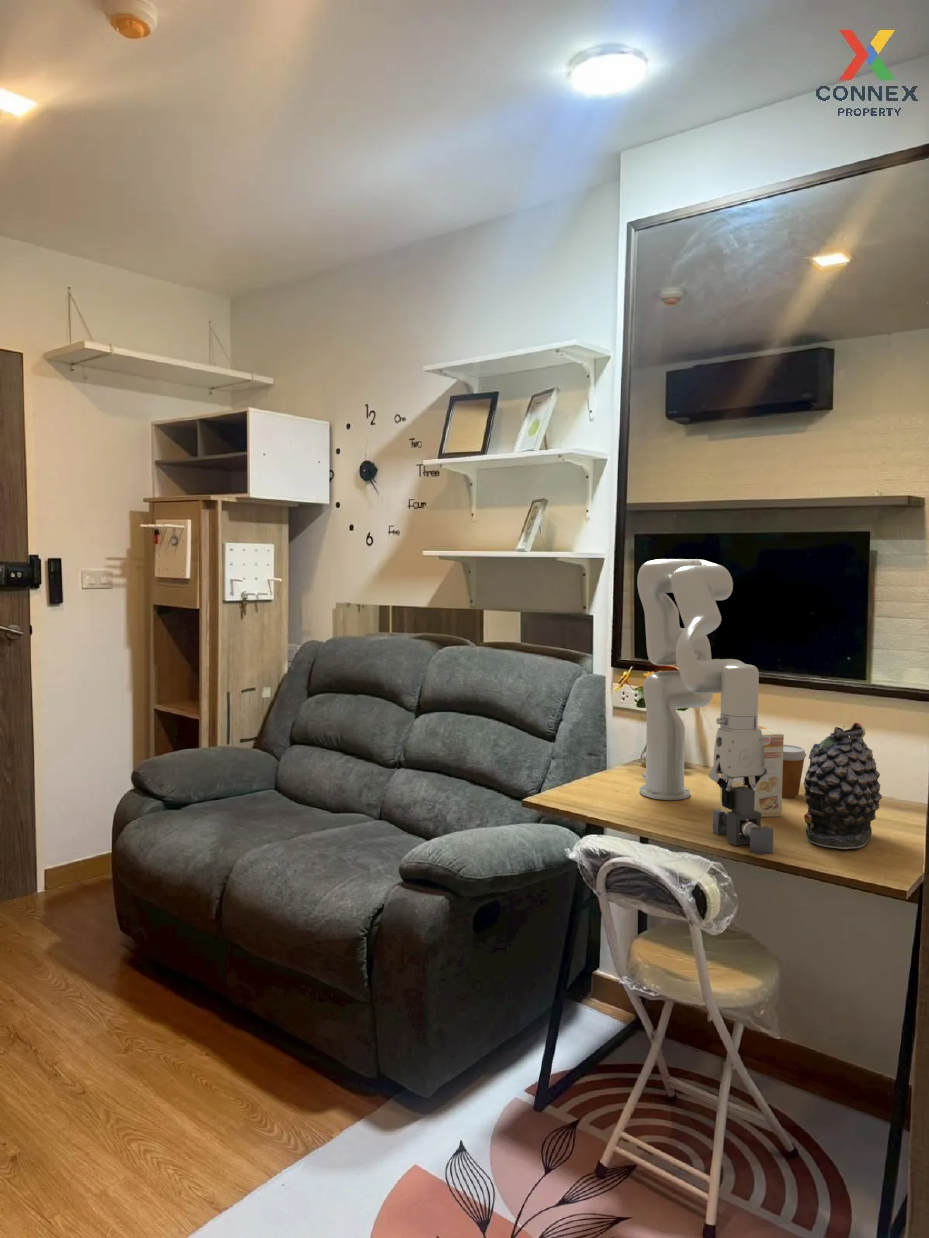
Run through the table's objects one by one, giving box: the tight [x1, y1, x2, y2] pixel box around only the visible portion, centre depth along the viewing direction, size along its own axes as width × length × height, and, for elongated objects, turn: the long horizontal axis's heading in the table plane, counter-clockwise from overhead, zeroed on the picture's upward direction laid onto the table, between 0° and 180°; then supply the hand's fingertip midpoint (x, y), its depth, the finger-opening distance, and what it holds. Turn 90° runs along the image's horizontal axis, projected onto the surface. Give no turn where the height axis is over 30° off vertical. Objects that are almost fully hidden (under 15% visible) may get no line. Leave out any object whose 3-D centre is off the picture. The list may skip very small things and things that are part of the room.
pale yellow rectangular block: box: [719, 782, 748, 813], centre depth 178 cm, size 4×4×6 cm
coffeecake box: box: [733, 724, 785, 818], centre depth 200 cm, size 15×7×20 cm, turn 8°
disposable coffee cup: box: [782, 744, 807, 799], centre depth 211 cm, size 10×10×12 cm
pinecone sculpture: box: [803, 722, 883, 850], centre depth 177 cm, size 21×15×25 cm
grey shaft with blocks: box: [712, 808, 774, 856], centre depth 176 cm, size 15×4×5 cm, turn 18°
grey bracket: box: [726, 787, 762, 846], centre depth 175 cm, size 3×6×11 cm, turn 108°
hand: (737, 805), depth 177 cm, fingers closed on pale yellow rectangular block, 4 cm apart
